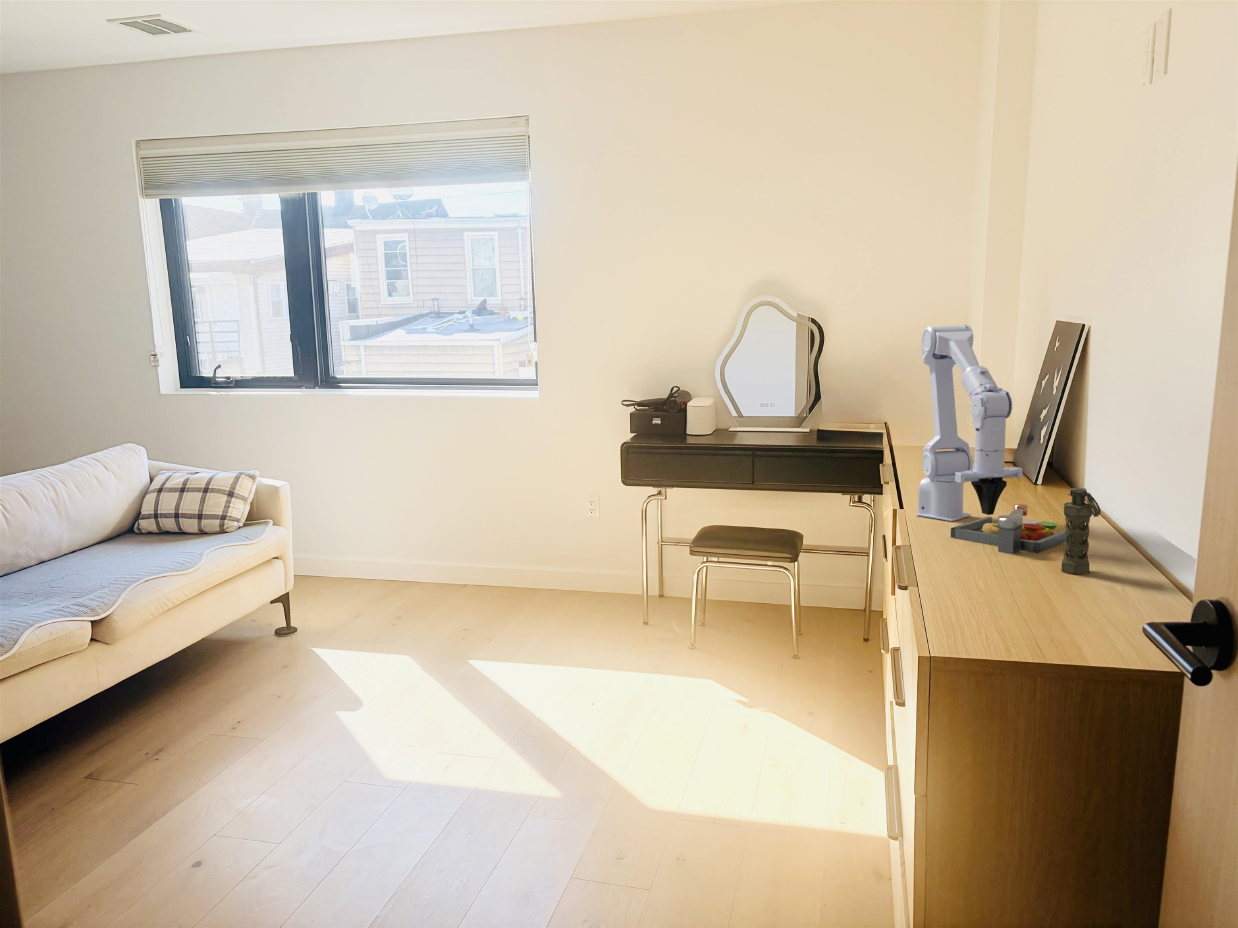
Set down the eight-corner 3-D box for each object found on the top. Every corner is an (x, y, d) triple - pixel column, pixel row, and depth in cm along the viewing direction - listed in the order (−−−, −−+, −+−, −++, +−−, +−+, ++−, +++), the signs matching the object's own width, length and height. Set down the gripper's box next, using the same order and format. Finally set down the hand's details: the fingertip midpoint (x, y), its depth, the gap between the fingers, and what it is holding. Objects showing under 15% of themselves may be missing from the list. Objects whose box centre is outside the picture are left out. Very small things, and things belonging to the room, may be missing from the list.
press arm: (1009, 512, 181) (1010, 503, 181) (1032, 514, 179) (1033, 504, 179) (996, 528, 168) (996, 519, 168) (1020, 531, 166) (1020, 521, 165)
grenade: (1098, 578, 150) (1103, 494, 148) (1061, 575, 153) (1065, 492, 151) (1097, 565, 158) (1101, 485, 156) (1061, 562, 161) (1064, 483, 158)
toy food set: (975, 540, 180) (975, 525, 179) (1000, 528, 189) (1000, 513, 188) (1042, 550, 170) (1043, 534, 170) (1065, 536, 179) (1066, 521, 179)
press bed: (940, 540, 179) (941, 518, 179) (987, 525, 191) (988, 504, 190) (1028, 556, 165) (1028, 533, 164) (1073, 539, 176) (1074, 516, 175)
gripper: (970, 454, 172) (968, 520, 174) (1033, 449, 175) (1031, 514, 177) (949, 450, 179) (948, 513, 181) (1010, 445, 182) (1008, 507, 184)
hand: (987, 513), depth 180 cm, fingers closed
